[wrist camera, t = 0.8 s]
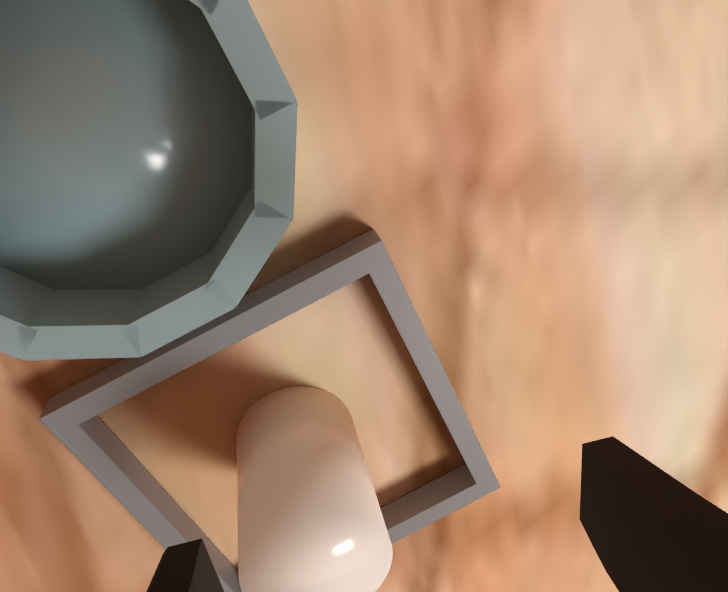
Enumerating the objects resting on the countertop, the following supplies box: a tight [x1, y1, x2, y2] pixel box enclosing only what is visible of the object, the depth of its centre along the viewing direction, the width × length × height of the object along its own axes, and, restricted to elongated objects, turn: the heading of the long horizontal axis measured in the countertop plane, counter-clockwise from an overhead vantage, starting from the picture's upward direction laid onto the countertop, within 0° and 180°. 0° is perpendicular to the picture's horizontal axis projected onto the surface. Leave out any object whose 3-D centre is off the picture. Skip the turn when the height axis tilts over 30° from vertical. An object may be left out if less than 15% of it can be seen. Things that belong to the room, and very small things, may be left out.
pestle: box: [237, 386, 393, 592], centre depth 19 cm, size 4×4×6 cm
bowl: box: [0, 0, 297, 361], centre depth 15 cm, size 11×11×3 cm
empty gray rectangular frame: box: [40, 229, 500, 592], centre depth 21 cm, size 12×12×1 cm
